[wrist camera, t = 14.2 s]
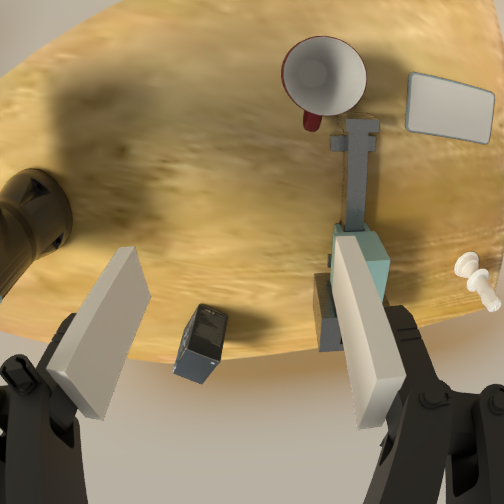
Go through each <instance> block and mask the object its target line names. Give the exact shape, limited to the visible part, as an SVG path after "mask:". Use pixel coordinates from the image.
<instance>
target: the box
mask: <svg viewBox="0 0 504 504" xmlns="http://www.w3.org/2000/svg"><path fill="white" fill-rule="evenodd" d="M227 319H228V316H227V315H224V314H222V313H220V312H218V311H215V310H213V309H211V308H209V307H206V306H204V305H202V304H199V305H198V307H197V309H196V310H195V312H194V314H193V316H192V317H191V319H190V321H189V323H188V324H187V326H186V327H185V329H184V332H183V336H182V339H181V343H180V347H179V350H178V354H177V358H176V361H175V365H174V368H173V373H174V374H176V375H179V376H181V377H184V378H186V379H189V380H192V381H194V382H197V383H199V384H203V383H204V381H205V380H206V379H207V378H208V376H209V375H210V374H211V372H212V371H213V370H214V369H215V368H216V366H217V365H218V364H219V363H220V360H221V355H222V348H223V343H224V337H225V331H226V325H227Z"/></svg>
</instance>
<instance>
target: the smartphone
mask: <svg viewBox="0 0 504 504" xmlns="http://www.w3.org/2000/svg"><path fill="white" fill-rule="evenodd" d="M494 101H495V96H494V94H493V93H492V92H491V91H487V90H484V89H481V88H478V87H474V86H471V85H467V84H464V83H460V82H456V81H452V80H448V79H444V78H440V77H436V76H432V75H427V74H422V73H417V72H412V73H410V74H409V76H408V92H407V107H406V118H405V128H406V129H407V130H408V131H409V132H414V133H421V134H428V135H435V136H441V137H448V138H453V139H459V140H464V141H470V142H475V143H480V144H485V145H486V144H488V143H489V140H490V134H491V127H492V119H493V111H494Z"/></svg>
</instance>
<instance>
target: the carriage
mask: <svg viewBox="0 0 504 504" xmlns="http://www.w3.org/2000/svg"><path fill="white" fill-rule="evenodd" d="M336 236H355V237H356V240H357V242H358V244H359V247H360V249H361V252H362V254H363V256H364V259H365V261H366V264H367V266H368V269H369V271H370V274H371V276H372V279H373V281H374V284H375V286H376V289H377V292H378V294H379V297H380V300H381V302H383V297H384V292H385V287H386V282H387V277H388V271H389V266H390V258H389V256H388V254H387V252H386V250H385V248H384V246H383V244H382V242H381V241H380V239H379V237H378V235H377V233H376V231H371V230H370V228H369V227H368V225H367V223H364V225H363V231H361V232H343V230H342V227H341V225H340V224H335V227H334V233H333V242H332V260H331V276H330V282H331V286H332V287H333V274H334V259H335V242H336Z"/></svg>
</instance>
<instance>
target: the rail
mask: <svg viewBox="0 0 504 504" xmlns="http://www.w3.org/2000/svg"><path fill="white" fill-rule="evenodd" d="M337 124H338V125H339V126H340V127H341V128H343V135H330V151H343V189H342V215H341V227H342V230H343V232H361V231H363V225H364V213H365V199H366V184H367V164H368V151H375V147H376V136H373V135H368V132H379V131H380V120H379V119H377V118H375V117H374V116H372V115H370V114H368V113H342V114H340V115H337ZM331 260H332V254H328V262H327V266H328V268H329V267H331Z"/></svg>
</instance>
